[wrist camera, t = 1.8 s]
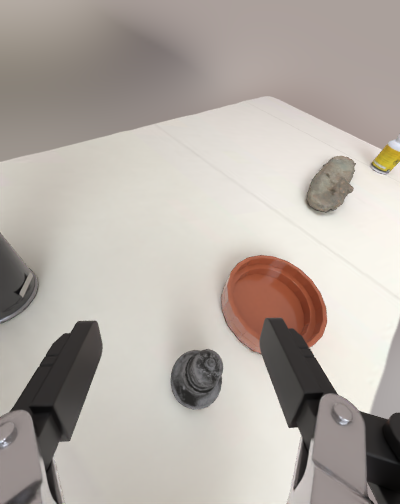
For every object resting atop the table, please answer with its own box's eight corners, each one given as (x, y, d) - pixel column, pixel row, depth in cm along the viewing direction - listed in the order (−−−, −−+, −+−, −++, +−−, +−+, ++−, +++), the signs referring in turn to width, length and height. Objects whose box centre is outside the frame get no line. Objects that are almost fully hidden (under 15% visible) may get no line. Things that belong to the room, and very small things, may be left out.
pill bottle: (380, 175, 74) (412, 141, 65) (365, 165, 77) (393, 131, 68) (391, 173, 76) (423, 140, 67) (376, 163, 80) (405, 130, 71)
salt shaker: (210, 354, 30) (236, 324, 21) (219, 406, 27) (254, 397, 17) (167, 359, 29) (174, 329, 19) (170, 414, 25) (180, 410, 16)
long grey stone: (353, 174, 74) (325, 163, 77) (364, 159, 70) (334, 147, 73) (335, 222, 52) (296, 203, 55) (350, 203, 48) (307, 185, 51)
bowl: (209, 335, 32) (216, 325, 28) (231, 257, 41) (238, 243, 38) (311, 374, 31) (330, 369, 27) (310, 286, 40) (324, 274, 37)
